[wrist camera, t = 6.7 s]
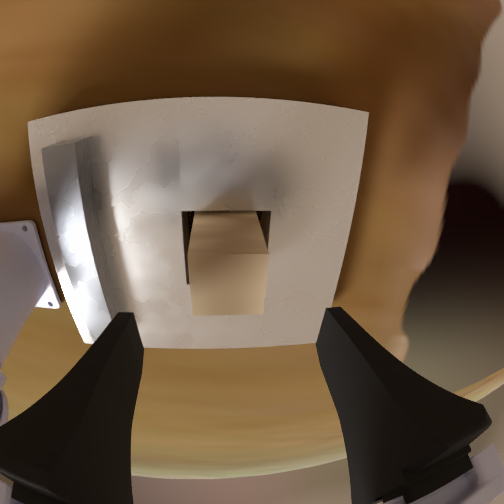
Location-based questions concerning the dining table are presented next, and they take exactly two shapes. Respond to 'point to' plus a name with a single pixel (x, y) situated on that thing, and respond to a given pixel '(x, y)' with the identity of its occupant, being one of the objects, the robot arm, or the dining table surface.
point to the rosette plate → (196, 209)
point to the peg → (227, 263)
